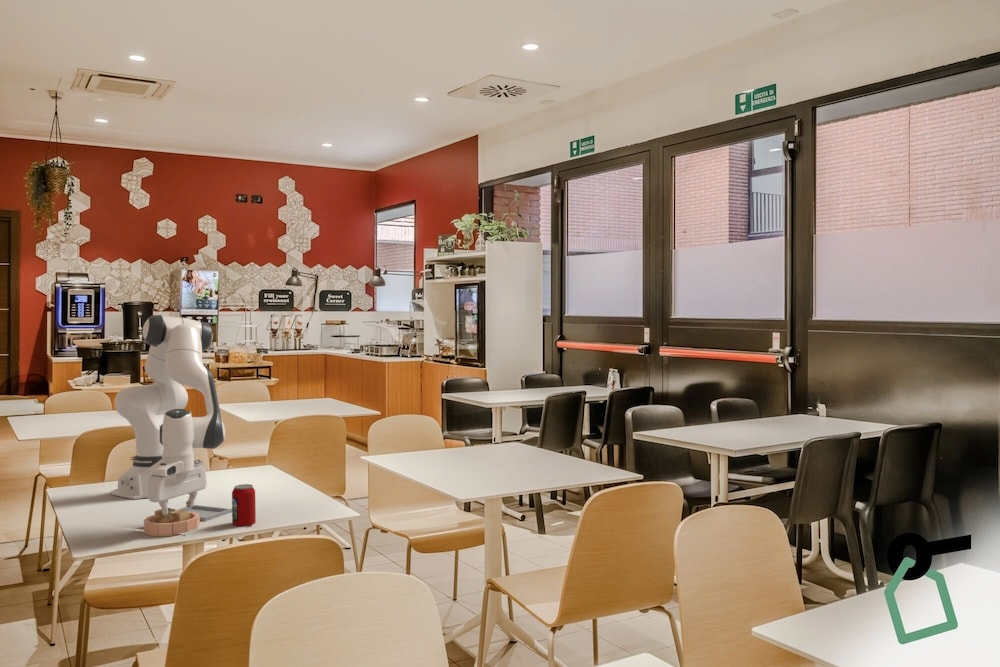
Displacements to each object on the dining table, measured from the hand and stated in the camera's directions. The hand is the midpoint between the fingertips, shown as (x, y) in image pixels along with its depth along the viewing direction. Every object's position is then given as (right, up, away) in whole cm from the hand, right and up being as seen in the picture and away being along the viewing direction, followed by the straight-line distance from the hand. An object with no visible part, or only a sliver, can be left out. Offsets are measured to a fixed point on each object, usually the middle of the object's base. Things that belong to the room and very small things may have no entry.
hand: (178, 510), depth 242 cm
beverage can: (+18, -6, +4) cm, 20 cm away
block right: (+1, -5, -1) cm, 5 cm away
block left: (-4, -5, +1) cm, 7 cm away
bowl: (-2, -6, 0) cm, 6 cm away
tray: (0, -5, +16) cm, 16 cm away
